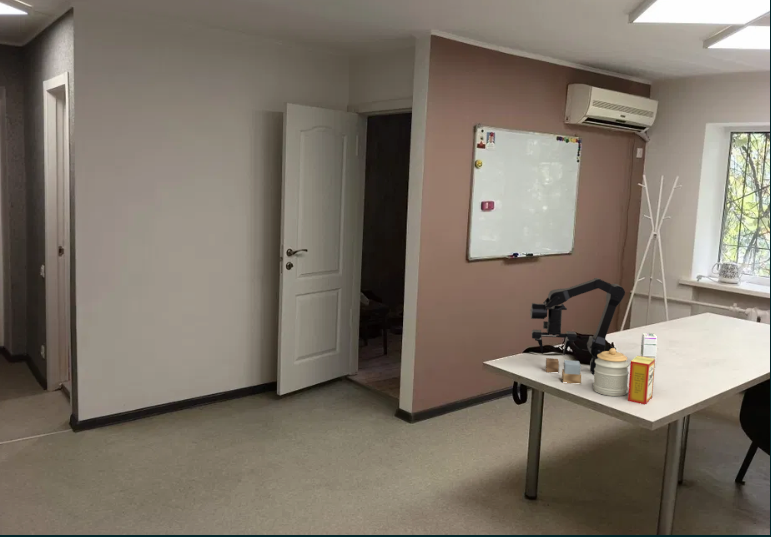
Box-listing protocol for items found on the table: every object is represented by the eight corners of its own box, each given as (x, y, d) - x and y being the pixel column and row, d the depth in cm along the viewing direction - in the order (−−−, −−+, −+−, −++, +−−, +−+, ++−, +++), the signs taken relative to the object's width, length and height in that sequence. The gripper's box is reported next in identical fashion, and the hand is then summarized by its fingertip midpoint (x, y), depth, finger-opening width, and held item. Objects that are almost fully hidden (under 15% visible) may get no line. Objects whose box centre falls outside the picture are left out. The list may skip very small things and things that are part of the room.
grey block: (578, 370, 267) (578, 361, 266) (580, 374, 261) (580, 365, 260) (563, 369, 268) (564, 360, 267) (564, 373, 262) (565, 364, 261)
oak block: (578, 379, 267) (579, 370, 267) (580, 384, 261) (581, 375, 260) (561, 378, 269) (562, 369, 268) (563, 383, 262) (563, 374, 261)
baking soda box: (645, 404, 238) (648, 363, 236) (627, 400, 242) (630, 360, 239) (652, 397, 246) (655, 357, 243) (634, 394, 249) (637, 354, 247)
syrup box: (655, 368, 283) (658, 336, 281) (641, 367, 284) (644, 335, 282) (653, 364, 288) (655, 333, 286) (639, 363, 290) (641, 332, 287)
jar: (600, 383, 261) (602, 342, 259) (632, 390, 253) (635, 347, 251) (587, 391, 252) (590, 348, 249) (620, 399, 243) (623, 354, 241)
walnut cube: (557, 369, 280) (558, 358, 279) (558, 373, 275) (558, 362, 274) (545, 369, 281) (546, 358, 280) (546, 372, 276) (546, 361, 275)
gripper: (575, 316, 280) (573, 350, 283) (531, 314, 284) (530, 348, 286) (577, 322, 269) (576, 357, 272) (532, 319, 273) (531, 355, 275)
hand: (553, 354), depth 276 cm, fingers open, 9 cm apart
